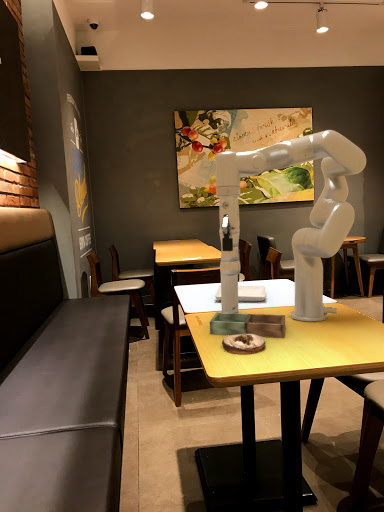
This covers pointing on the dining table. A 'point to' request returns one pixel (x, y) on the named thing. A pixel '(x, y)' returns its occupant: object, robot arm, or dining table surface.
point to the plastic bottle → (230, 255)
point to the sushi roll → (243, 343)
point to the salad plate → (247, 293)
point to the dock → (248, 324)
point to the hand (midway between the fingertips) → (229, 249)
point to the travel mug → (229, 293)
